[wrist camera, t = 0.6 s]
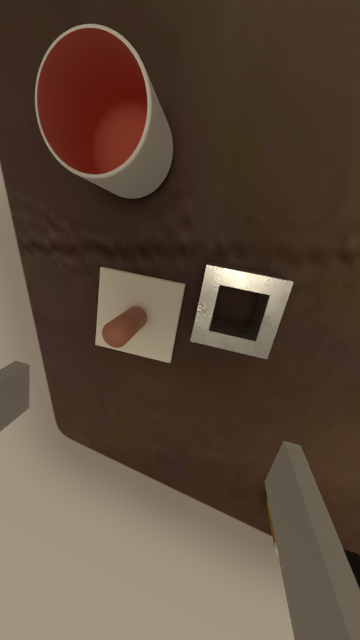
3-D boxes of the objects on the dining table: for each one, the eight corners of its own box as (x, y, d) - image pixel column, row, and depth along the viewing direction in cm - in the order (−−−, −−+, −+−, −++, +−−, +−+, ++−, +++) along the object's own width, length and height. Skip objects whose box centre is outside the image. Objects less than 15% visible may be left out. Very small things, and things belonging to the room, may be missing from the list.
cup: (145, 217, 30) (110, 203, 20) (82, 167, 29) (16, 129, 20) (192, 140, 26) (177, 80, 17) (122, 82, 26) (65, -13, 16)
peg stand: (103, 266, 32) (67, 272, 25) (185, 283, 31) (174, 295, 24) (98, 342, 36) (65, 367, 29) (171, 360, 35) (157, 391, 28)
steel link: (209, 261, 30) (206, 264, 24) (279, 275, 29) (293, 281, 23) (195, 325, 33) (190, 341, 27) (258, 339, 32) (267, 359, 26)
